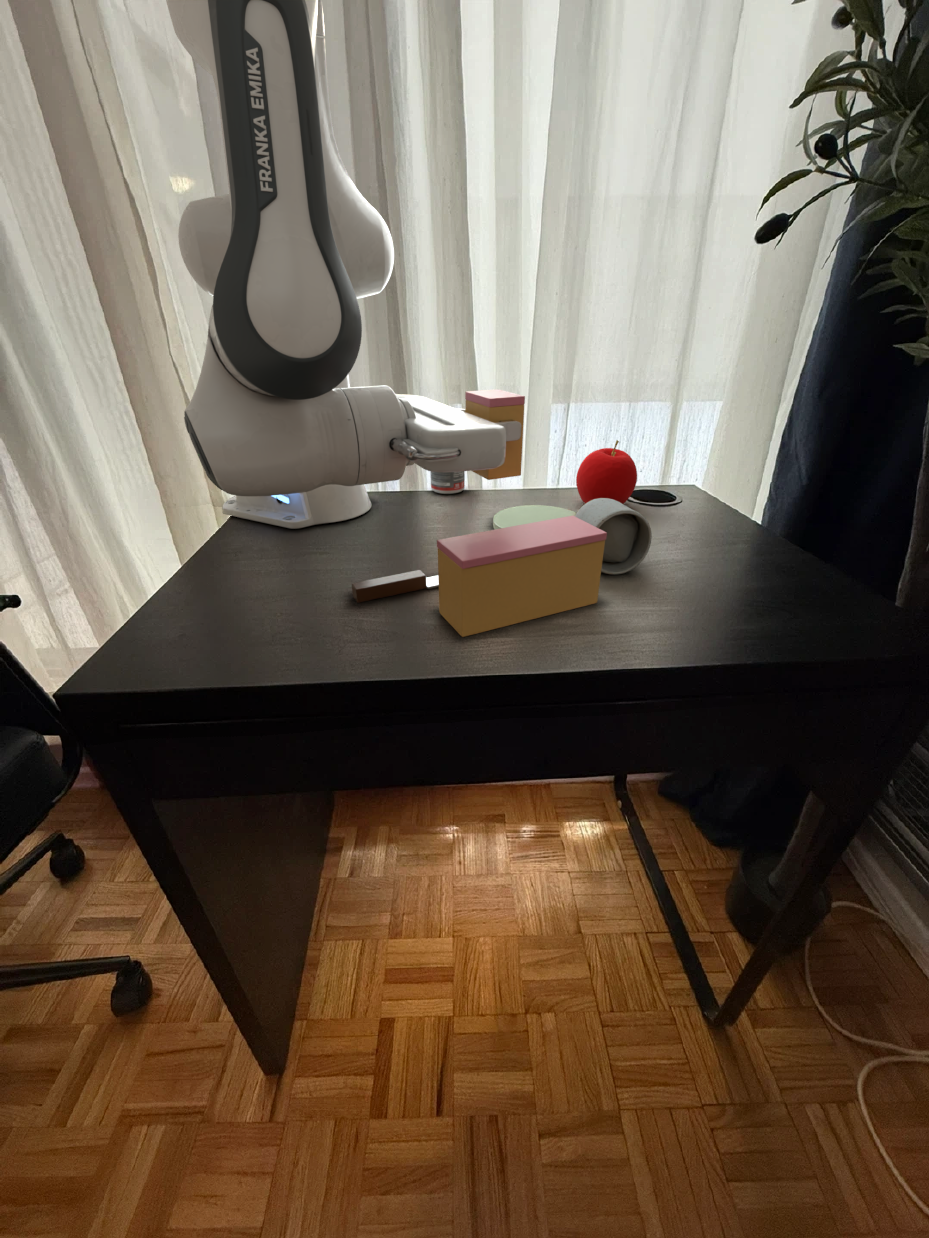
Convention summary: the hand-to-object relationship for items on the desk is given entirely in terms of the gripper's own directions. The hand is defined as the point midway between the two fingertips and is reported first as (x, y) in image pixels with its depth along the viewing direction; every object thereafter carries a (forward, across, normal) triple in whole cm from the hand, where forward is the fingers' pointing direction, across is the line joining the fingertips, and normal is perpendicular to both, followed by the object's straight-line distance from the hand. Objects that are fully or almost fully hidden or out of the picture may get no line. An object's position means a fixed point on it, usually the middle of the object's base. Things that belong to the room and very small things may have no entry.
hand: (501, 423), depth 60 cm
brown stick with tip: (-8, 0, +17) cm, 18 cm away
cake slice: (-1, 0, +5) cm, 5 cm away
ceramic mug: (+12, -4, +17) cm, 21 cm away
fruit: (+26, +14, +17) cm, 34 cm away
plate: (+12, +10, +17) cm, 23 cm away
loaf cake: (-3, -10, +17) cm, 20 cm away
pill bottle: (+8, +32, +17) cm, 37 cm away
